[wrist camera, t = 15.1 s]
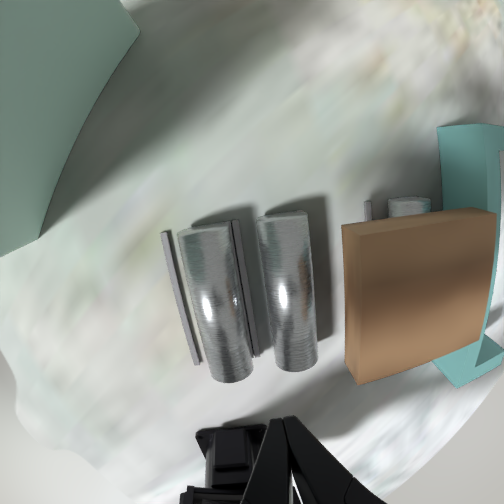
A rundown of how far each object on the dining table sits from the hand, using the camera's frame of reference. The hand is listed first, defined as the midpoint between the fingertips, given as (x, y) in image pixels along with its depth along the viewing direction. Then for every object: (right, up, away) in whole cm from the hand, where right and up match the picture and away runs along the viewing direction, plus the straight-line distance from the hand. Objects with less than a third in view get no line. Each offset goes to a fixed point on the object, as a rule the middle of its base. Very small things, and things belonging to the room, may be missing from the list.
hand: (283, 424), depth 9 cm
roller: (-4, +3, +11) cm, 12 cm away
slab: (+9, +4, +8) cm, 13 cm away
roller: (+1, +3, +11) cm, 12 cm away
